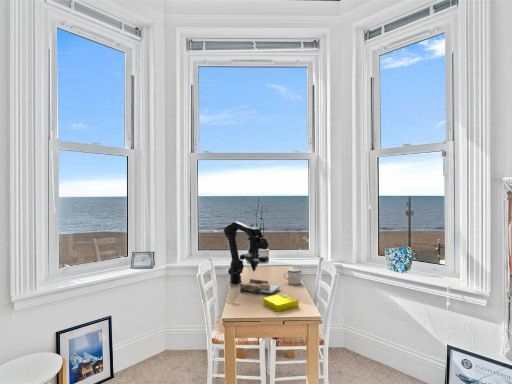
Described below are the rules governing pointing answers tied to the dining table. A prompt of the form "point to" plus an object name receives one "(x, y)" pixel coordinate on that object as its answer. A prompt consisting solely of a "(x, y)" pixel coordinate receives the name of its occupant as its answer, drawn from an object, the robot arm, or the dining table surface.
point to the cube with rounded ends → (265, 286)
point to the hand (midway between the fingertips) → (254, 271)
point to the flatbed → (252, 286)
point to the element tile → (280, 302)
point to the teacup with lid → (293, 275)
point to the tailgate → (271, 289)
